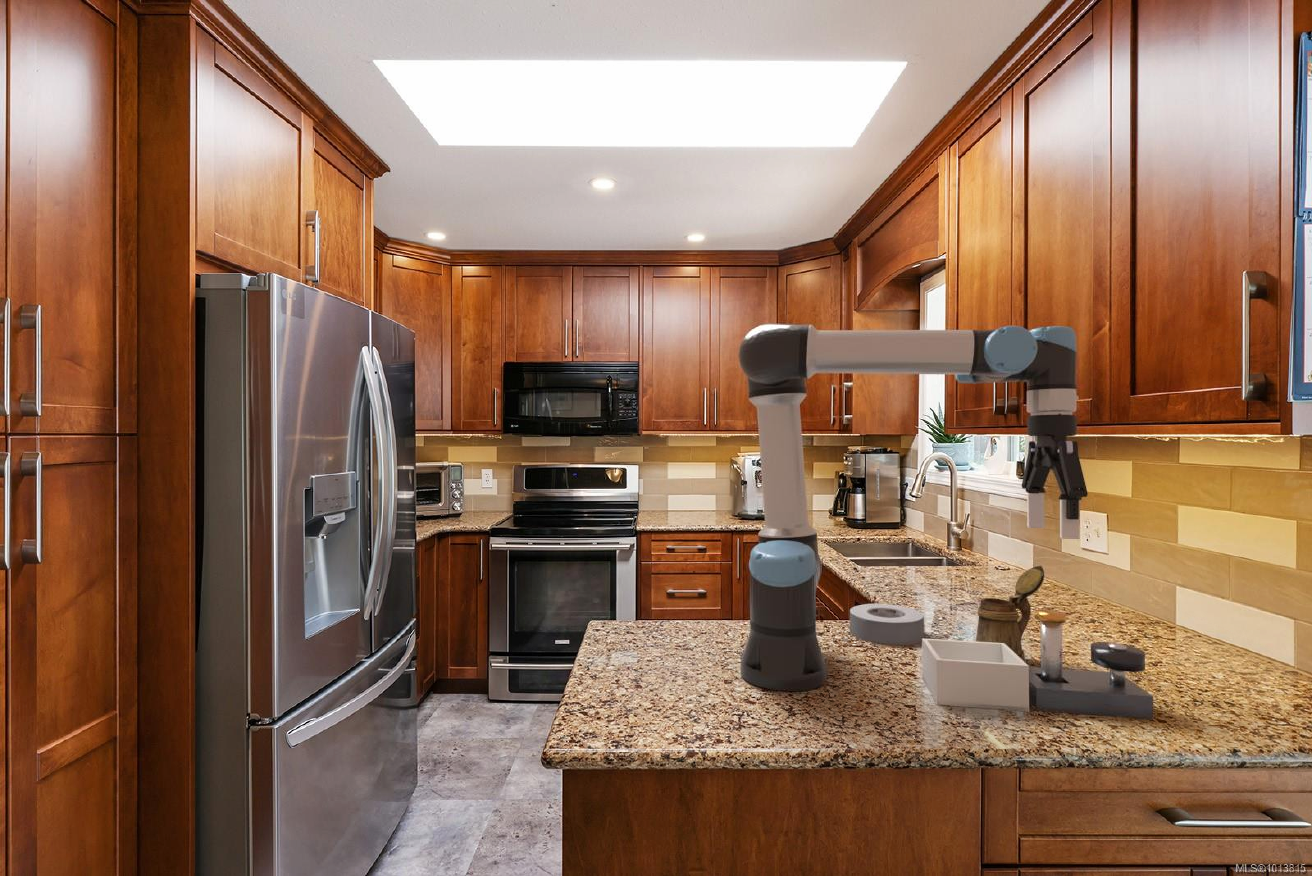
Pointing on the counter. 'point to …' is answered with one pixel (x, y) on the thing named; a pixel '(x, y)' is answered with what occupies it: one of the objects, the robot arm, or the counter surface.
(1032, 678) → the block
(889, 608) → the tape roll
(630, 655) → the counter surface
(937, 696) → the parts bin
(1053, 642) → the pin
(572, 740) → the counter surface
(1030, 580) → the wooden mug
